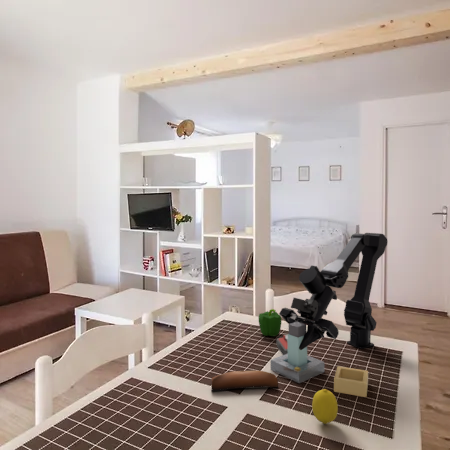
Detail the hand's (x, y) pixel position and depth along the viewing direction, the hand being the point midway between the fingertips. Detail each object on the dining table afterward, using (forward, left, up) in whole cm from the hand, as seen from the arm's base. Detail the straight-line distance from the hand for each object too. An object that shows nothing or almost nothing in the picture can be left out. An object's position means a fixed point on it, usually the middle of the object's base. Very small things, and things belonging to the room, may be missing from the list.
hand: (294, 346), depth 112 cm
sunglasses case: (+17, -2, -8) cm, 18 cm away
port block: (-1, 0, -7) cm, 8 cm away
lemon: (+11, +24, -8) cm, 27 cm away
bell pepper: (-12, -29, -8) cm, 33 cm away
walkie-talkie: (-11, -16, -8) cm, 21 cm away
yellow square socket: (-7, +15, -7) cm, 18 cm away
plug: (-1, 0, -7) cm, 7 cm away
